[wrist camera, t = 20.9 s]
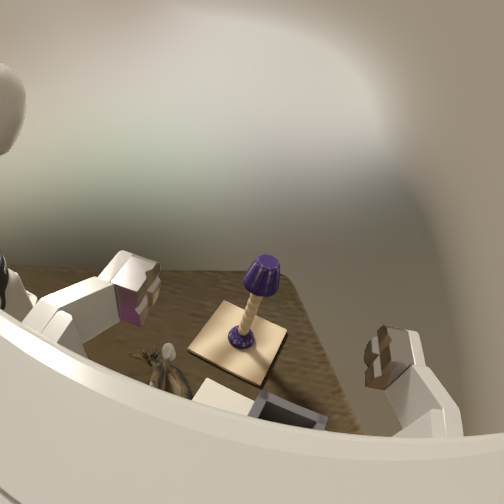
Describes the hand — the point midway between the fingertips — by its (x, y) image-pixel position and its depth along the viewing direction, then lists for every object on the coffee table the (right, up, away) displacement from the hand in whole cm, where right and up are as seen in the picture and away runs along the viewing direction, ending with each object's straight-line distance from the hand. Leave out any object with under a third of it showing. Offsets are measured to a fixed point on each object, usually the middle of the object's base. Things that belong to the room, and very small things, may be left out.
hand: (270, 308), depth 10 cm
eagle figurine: (-13, -17, +27) cm, 35 cm away
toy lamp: (-2, -12, +36) cm, 38 cm away
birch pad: (-3, -12, +37) cm, 39 cm away
